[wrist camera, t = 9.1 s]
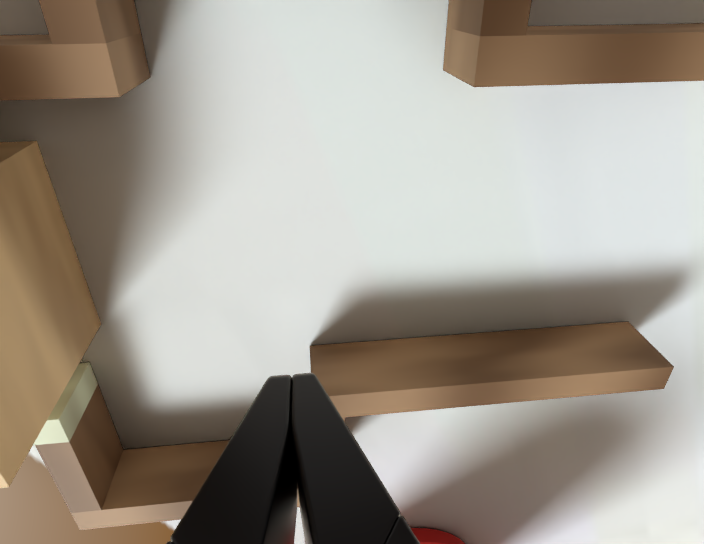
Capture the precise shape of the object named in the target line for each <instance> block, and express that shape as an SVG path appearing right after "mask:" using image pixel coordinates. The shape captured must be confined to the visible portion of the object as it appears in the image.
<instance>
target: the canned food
mask: <svg viewBox="0 0 704 544" xmlns="http://www.w3.org/2000/svg"><path fill="white" fill-rule="evenodd" d="M411 530H412V531H413V533H414V535H415V536H416V538H417V539H418V541H419V542H420V544H465V543H464V542H463V541H462V540H461V539H460V538H458V537H456V536H454V535H452V534H450V533H447V532H444V531H440V530H436V529H429V528H411Z"/></svg>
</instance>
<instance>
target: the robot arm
mask: <svg viewBox="0 0 704 544" xmlns="http://www.w3.org/2000/svg"><path fill="white" fill-rule="evenodd" d="M298 495H299V503H300V511H301V518H302V524H303V531H304V537H305V544H420V542H419V541H418V539H417V538H416V536H415V535H414V533H413V531H412V530H411V528H410V527H409V525H408V523H407V522H406V520H405V519H404V517H403V516H400V511H399V509H398V508H397V506H396V504H395V503H394V501H393V500H392V498H391V496H390V495H389V493H388V491H387V490H386V488H385V487H384V485H383V483H382V482H381V480H380V478H379V477H378V475H377V474H376V472H375V470H374V469H373V467H372V465H371V464H370V462H369V461H368V459H367V457H366V456H365V454H364V453H363V451H362V449H361V448H360V446H359V444H358V443H357V441H356V440H355V438H354V436H353V435H352V433H351V431H350V430H349V428H348V427H347V425H346V423H345V422H344V420H343V418H342V417H341V415H340V414H339V412H338V410H337V409H336V407H335V406H334V404H333V402H332V401H331V399H330V397H329V396H328V394H327V393H326V391H325V389H324V388H323V386H322V384H321V383H320V381H319V380H318V378H317V376H316V375H315V374H313V373H304V374H295V375H293V377H291V376H290V375H279V376H271V377H269V378H268V379H267V381H266V382H265V384H264V385H263V387H262V389H261V390H260V392H259V394H258V395H257V397H256V398H255V400H254V402H253V403H252V405H251V407H250V408H249V410H248V412H247V413H246V415H245V416H244V418H243V420H242V421H241V423H240V425H239V426H238V428H237V430H236V431H235V433H234V434H233V436H232V438H231V439H230V441H229V443H228V444H227V446H226V447H225V449H224V451H223V452H222V454H221V456H220V457H219V459H218V461H217V462H216V464H215V465H214V467H213V469H212V470H211V472H210V474H209V475H208V477H207V479H206V480H205V482H204V483H203V485H202V487H201V488H200V490H199V492H198V493H197V495H196V496H195V498H194V500H193V501H192V503H191V505H190V506H189V508H188V510H187V511H186V513H185V514H184V516H183V518H182V519H181V521H180V523H179V524H178V526H177V528H176V529H175V531H174V533H173V534H172V536H171V541H169V542H167V543H166V544H294V536H295V525H296V514H297V498H298Z"/></svg>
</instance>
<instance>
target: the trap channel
mask: <svg viewBox="0 0 704 544" xmlns="http://www.w3.org/2000/svg"><path fill="white" fill-rule="evenodd" d="M531 2H532V0H449V5H448V17H447V29H446V41H445V52H444V64H443V70H444V71H446V72H447V73H449V74H451V75H453V76H455V77H456V78H458V79H460V80H462V81H464V82H466V83H467V84H469V85H471V86H473V87H493V86H528V85H563V84H599V83H634V82H669V81H704V23H691V24H632V25H574V26H528V20H529V14H530V8H531ZM39 3H40V6H41V9H42V13H43V16H44V19H45V23H46V26H47V29H48V33H49V34H46V35H0V101H3V100H38V99H73V98H108V97H121V96H122V95H124V94H125V93H127V92H128V91H130V90H132V89H133V88H135V87H136V86H138V85H139V84H141V83H143V82H144V81H146V80H147V79H149V78H150V73H149V68H148V63H147V59H146V54H145V49H144V45H143V40H142V35H141V31H140V26H139V21H138V16H137V12H136V7H135V2H134V0H39ZM310 360H311V373H313V374H315V375H316V376H317V378H318V380H319V381H320V383H321V384H322V386H323V388H324V389H325V391H326V393H327V394H328V396H329V397H330V399H331V401H332V402H333V404H334V406H335V407H336V409H337V410H338V412H339V414H340V415H341V417H342V418H343V420H344V422H345V417H354V416H365V415H377V414H388V413H399V412H410V411H421V410H432V409H444V408H455V407H466V406H477V405H488V404H499V403H511V402H522V401H533V400H544V399H555V398H566V397H577V396H589V395H600V394H611V393H622V392H633V391H644V390H656V389H664V387H665V385H666V383H667V381H668V378H669V376H670V374H671V372H672V370H673V366H672V365H671V364H670V363H669V362H668V361H667V360H666V359H665V358H664V357H663V356H662V355H661V354H660V353H659V352H658V351H657V350H656V349H655V348H654V347H653V346H652V345H651V344H650V343H649V342H648V341H647V340H646V339H645V338H644V337H643V336H642V335H641V334H640V333H639V332H638V331H637V330H636V329H635V328H634V327H633V326H632V325H631V324H630V323H629V322H616V323H603V324H590V325H577V326H564V327H550V328H537V329H524V330H511V331H498V332H484V333H471V334H458V335H445V336H432V337H418V338H405V339H392V340H379V341H366V342H352V343H339V344H326V345H313V346H310ZM229 441H230V440H225V441H214V442H203V443H192V444H182V445H171V446H160V447H149V448H138V449H127V450H123V448H122V445H121V442H120V440H119V437H118V435H117V432H116V430H115V427H114V424H113V422H112V419H111V417H110V414H109V411H108V409H107V406H106V404H105V401H104V399H103V396H102V393H101V391H100V388H99V386H98V383H97V380H96V378H95V375H94V373H93V370H92V368H91V365H90V362H88V363H79V364H78V366H77V368H76V370H75V372H74V373H73V375H72V377H71V379H70V380H69V382H68V384H67V386H66V387H65V389H64V391H63V393H62V394H61V396H60V398H59V400H58V402H57V403H56V405H55V407H54V409H53V410H52V412H51V414H50V416H49V417H48V419H47V421H46V423H45V425H44V426H43V428H42V430H41V432H40V433H39V435H38V437H37V439H36V440H35V442H34V444H33V445H35V446H36V448H37V450H38V452H39V454H40V455H41V457H42V459H43V461H44V463H45V465H46V467H47V469H48V471H49V472H50V474H51V476H52V478H53V480H54V482H55V484H56V485H57V488H58V489H59V491H60V493H61V495H62V497H63V499H64V501H65V503H66V505H67V506H68V508H69V510H70V512H71V514H72V516H73V518H74V520H75V522H76V523H77V525H78V527H79V529H80V530H85V529H94V528H103V527H113V526H122V525H132V524H140V523H151V522H160V521H170V520H179V519H182V518H183V516H184V514H185V513H186V511H187V510H188V508H189V506H190V505H191V503H192V501H193V500H194V498H195V496H196V495H197V493H198V492H199V490H200V488H201V487H202V485H203V483H204V482H205V480H206V479H207V477H208V475H209V474H210V472H211V470H212V469H213V467H214V465H215V464H216V462H217V461H218V459H219V457H220V456H221V454H222V452H223V451H224V449H225V447H226V446H227V444H228V443H229ZM297 507H300V503H299V495H298V498H297Z"/></svg>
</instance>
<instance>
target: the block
mask: <svg viewBox="0 0 704 544" xmlns="http://www.w3.org/2000/svg"><path fill="white" fill-rule="evenodd" d="M100 326H101V322H100V319H99V317H98V314H97V311H96V308H95V305H94V302H93V300H92V297H91V294H90V291H89V288H88V285H87V282H86V280H85V277H84V274H83V271H82V268H81V265H80V263H79V260H78V257H77V254H76V251H75V248H74V245H73V243H72V240H71V237H70V234H69V231H68V228H67V226H66V223H65V220H64V217H63V214H62V211H61V208H60V206H59V203H58V200H57V197H56V194H55V191H54V189H53V186H52V183H51V180H50V177H49V174H48V171H47V169H46V166H45V163H44V160H43V157H42V154H41V152H40V149H39V146H38V143H37V141H20V142H0V488H5V487H9V486H10V484H11V483H12V481H13V479H14V477H15V476H16V474H17V472H18V470H19V469H20V467H21V465H22V463H23V462H24V460H25V458H26V456H27V455H28V453H29V451H30V449H31V447H32V446H33V444H34V442H35V440H36V439H37V437H38V435H39V433H40V432H41V430H42V428H43V426H44V425H45V423H46V421H47V419H48V417H49V416H50V414H51V412H52V410H53V409H54V407H55V405H56V403H57V402H58V400H59V398H60V396H61V394H62V393H63V391H64V389H65V387H66V386H67V384H68V382H69V380H70V379H71V377H72V375H73V373H74V372H75V370H76V368H77V366H78V364H79V363H80V361H81V359H82V357H83V356H84V354H85V352H86V350H87V349H88V347H89V345H90V343H91V341H92V340H93V338H94V336H95V334H96V333H97V331H98V329H99V327H100Z"/></svg>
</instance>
